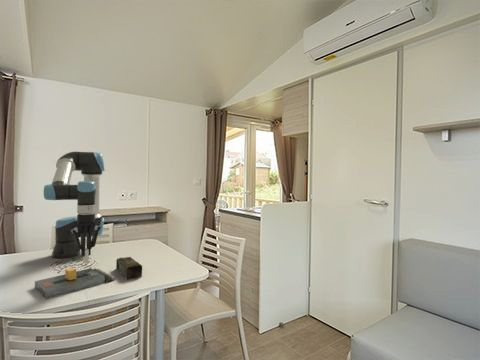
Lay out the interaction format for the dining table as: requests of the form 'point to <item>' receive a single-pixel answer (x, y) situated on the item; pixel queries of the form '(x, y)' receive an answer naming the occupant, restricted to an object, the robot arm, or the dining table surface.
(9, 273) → the dining table surface
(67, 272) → the toggle
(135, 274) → the beverage carton
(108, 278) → the grey rounded bar
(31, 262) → the dining table surface
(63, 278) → the breaker panel
